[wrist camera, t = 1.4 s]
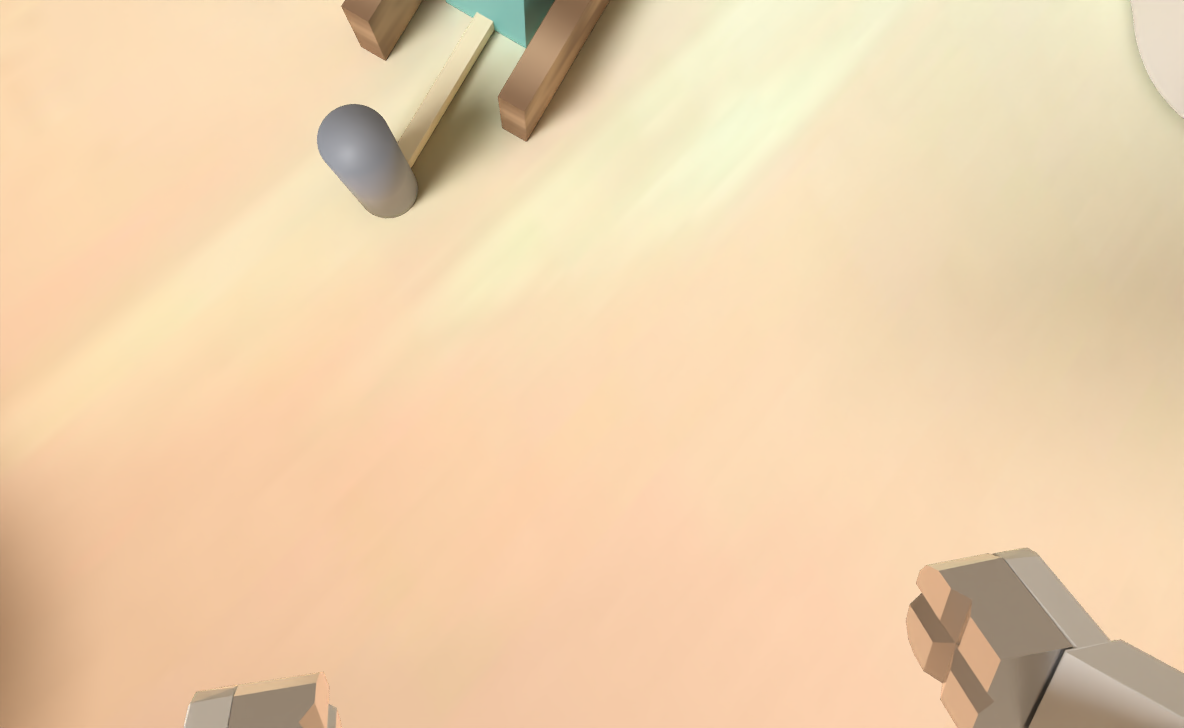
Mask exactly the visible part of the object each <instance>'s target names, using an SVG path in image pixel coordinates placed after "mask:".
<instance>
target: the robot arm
mask: <svg viewBox="0 0 1184 728" xmlns="http://www.w3.org/2000/svg"><path fill="white" fill-rule="evenodd" d="M1130 2H1131V7H1132V12H1133V21H1134V30H1135V36H1136V42H1137V46H1138V50H1139V53H1140V56H1141V59H1142V62H1143V64H1144V67H1145V69H1146V71H1147V73H1148V75H1149V77H1150V79H1151V80H1152V82H1153V84H1154V86H1155V87H1156V89H1157V90H1158V91H1159V93H1160V94H1161V96H1162V97H1163V98H1164V99H1165V101H1166V102H1167V103H1168V104H1169V105H1170V106H1171V107H1172V108H1173V109H1174V110H1175V111H1176V112H1177V113H1178V114H1179V115H1180V116H1181V117H1182V118H1184V0H1130ZM916 584H917V586H918V587H919V589H920V590H921V592H922V593H921V594H920V595H919V596H918V597H917V598H916V599H915V600H914V601H913V602H912V603H911V604H910V605H909V610H908V614H907V618H906V625H907V632H908V640H909V642H910V645H911V647H912V650H913V653H914V655H915V657H916V659H917V660H918V662H919V664H920V666H921V667H922V669H923V671H924V672H926V673H928V674H929V675H931V676H932V677H934V678H935V679H937V680H938V681H940V682H942V690H941V698H940V700H941V701H942V703H943V705H944V706H945V708H946V709H947V711H948V713H949V714H950V716H951V718H952V719H953V721H954V723H955V724H956V726H957V728H1184V673H1182V672H1180V671H1179V670H1177V669H1175V668H1173V667H1171V666H1169V665H1167V664H1166V663H1164V662H1162V661H1160V660H1158V659H1156V658H1154V657H1153V656H1151V655H1149V654H1147V653H1145V652H1143V651H1141V650H1140V649H1138V648H1136V647H1134V646H1132V645H1130V644H1128V643H1127V642H1125V641H1123V640H1121V639H1120V640H1114V641H1111V640H1110V639H1109V638H1108V637H1107V636H1106V635H1105V633H1104V632H1103V631H1102V630H1101V629H1100V627H1099V626H1098V625H1097V624H1096V623H1095V621H1094V620H1093V619H1092V618H1091V617H1090V616H1089V614H1088V613H1087V612H1086V611H1085V610H1084V608H1083V607H1082V606H1081V605H1080V604H1079V602H1078V601H1077V600H1076V599H1075V598H1074V597H1073V595H1072V594H1071V593H1070V592H1069V591H1068V589H1067V588H1066V587H1065V586H1064V585H1063V583H1062V582H1061V581H1060V580H1059V579H1058V578H1057V576H1056V575H1055V574H1054V573H1053V572H1052V570H1051V569H1050V568H1049V567H1048V566H1047V565H1046V563H1045V562H1044V561H1043V560H1042V559H1041V557H1040V556H1039V555H1038V554H1037V553H1036V552H1034V551H1032V550H1031V549H1029V548H1019V549H1014V550H1009V551H1004V552H999V553H994V554H989V553H987V554H982V555H977V556H972V557H966V558H961V559H956V560H951V561H945V562H940V563H935V564H930V565H926V566H925V567H924V568H923V569H922V570H920V572H919V575H918V578H917V582H916ZM329 690H330V687H329V684H328V682H327V679H326V677H325V674H324V672H318V673H312V674H305V675H299V676H292V677H286V678H279V679H273V680H266V681H260V682H253V683H247V684H239V685H233V686H227V687H221V688H215V689H210V690H204V691H198V692H196V693H195V695H194V697H193V699H192V700H191V702H190V704H189V706H188V710H187V714H186V719H185V723H184V728H342V725H341V720H340V717H339V714H338V710H337V708H336V707H334V706H332V705H330V704H329Z"/></svg>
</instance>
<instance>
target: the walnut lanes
mask: <svg viewBox="0 0 1184 728" xmlns="http://www.w3.org/2000/svg"><path fill="white" fill-rule="evenodd" d="M609 1H610V0H555V1H554V3H553V5H552V6H551V8H550V10H549V11H548V13H547V15H546V16H545V18H544V20H543V21H542V23H541V25H540V26H539V28H538V30H537V32H536V33H535V35H534V37H533V38H532V40H531V42H530V43H529V45H528V47H527V48H526V50H525V52H524V53H523V55H522V57H521V58H520V60H519V62H518V63H517V65H516V67H515V68H514V70H513V72H512V73H511V75H510V77H509V78H508V80H507V82H506V83H505V85H504V87H503V89H502V90H501V92H500V94H499V95H498V101H499V108H500V115H501V122H502V128H503V129H505V130H507V131H509V132H510V133H512V134H514V135H516V136H517V137H519V138H521V139H523V140H524V141H527V140H528V138H529V136H530V135H531V133H532V131H533V130H534V128H535V126H536V125H537V123H538V121H539V119H540V118H541V116H542V114H543V113H544V111H545V109H546V108H547V106H548V104H549V103H550V101H551V99H552V97H553V96H554V94H555V92H556V91H557V89H558V87H559V86H560V84H561V82H562V80H563V79H564V77H565V75H566V74H567V72H568V70H569V69H570V67H571V65H572V64H573V62H574V60H575V58H576V57H577V55H578V53H579V52H580V50H581V48H582V47H583V45H584V43H585V42H586V40H587V38H588V36H589V35H590V33H591V31H592V30H593V28H594V26H595V25H596V23H597V21H598V19H599V18H600V16H601V14H602V13H603V11H604V9H605V8H606V6H607V4H608V3H609ZM421 2H422V0H345V1H344V3H343V4H342V6H341V7H342V9H343V11H344V13H345V15H346V17H347V19H348V21H349V23H350V25H351V27H352V29H353V31H354V33H355V35H356V37H357V39H358V41H359V43H360V45H361V47H363V48H364V49H366V50H368V51H370V52H371V53H373V54H375V55H377V56H378V57H380V58H382V59H383V60H385V61H386V59H387V58H388V56H389V54H390V53H391V51H392V49H393V48H394V46H395V45H396V43H397V41H398V40H399V38H400V36H401V35H402V33H403V31H404V30H405V28H406V27H407V25H408V23H409V22H410V20H411V18H412V17H413V15H414V13H415V12H416V10H417V9H418V7H419V5H420V4H421Z"/></svg>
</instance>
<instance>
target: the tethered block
mask: <svg viewBox="0 0 1184 728" xmlns="http://www.w3.org/2000/svg"><path fill="white" fill-rule="evenodd" d="M554 1H555V0H446V2H447V3H448V4H450V5H452V6H454V7H455V8H457V9H459V10H460V11H462V12H464V13H466V14H467V15H469V16H471V17H473V19H472V21H471V22H470V24H469V26H468V27H467V29H466V31H465V32H464V34H463V36H462V37H461V39H460V41H459V42H458V44H457V45H456V47H455V49H454V50H453V52H452V54H451V55H450V57H449V59H448V60H447V62H446V64H445V65H444V67H443V69H442V70H441V72H440V74H439V75H438V77H437V79H436V80H435V82H434V83H433V85H432V87H431V88H430V90H429V92H428V93H427V95H426V97H425V98H424V100H423V102H422V103H421V105H420V107H419V108H418V110H417V112H416V113H415V115H414V117H413V118H412V120H411V122H410V123H409V125H408V126H407V128H406V130H405V131H404V133H403V135H402V136H401V138H400V140H399V141H398V143H397V142H396V140H395V138H394V136H393V134H392V132H391V131H390V129H389V127H388V125H387V123H386V121H385V120H384V119H383V117H382V116H381V115H380V114H379V113H378V112H376V111H375V110H373V109H371V108H369V107H367V106H364V105H359V104H349V105H344V106H341V107H339V108H336V109H335V110H333V111H332V112H330V113H329V114H328V115H327V116H326V117H325V119H324V120H323V121H322V123H321V125H320V128H319V130H318V135H317V144H318V149H319V152H320V154H321V156H322V158H323V160H324V161H325V162H326V163H327V165H328V166H329V167H330V168H331V169H332V170H333V172H334V173H335V174H336V175H337V176H338V177H339V179H340V180H341V181H342V182H343V183H344V184H345V186H346V187H347V188H348V189H349V190H350V191H351V192H352V194H353V195H354V196H355V197H356V198H357V199H358V201H359V202H360V203H361V204H362V205H363V206H364V208H365V209H366V210H367V211H369V212H370V213H371V214H373V215H375V216H378V217H381V218H394V217H398V216H400V215H402V214H404V213H405V212H407V211H408V210H409V209H410V208H411V207H412V205H413V204H414V202H415V200H416V197H417V193H418V184H417V180H416V177H415V175H414V173H413V172H412V170H411V167H412V166H413V164H414V162H415V161H416V159H417V157H418V156H419V154H420V152H421V151H422V149H423V147H424V146H425V144H426V142H427V141H428V139H429V137H430V136H431V134H432V132H433V131H434V129H435V127H436V126H437V124H438V123H439V121H440V119H441V118H442V116H443V114H444V113H445V111H446V109H447V108H448V106H449V104H450V103H451V101H452V99H453V98H454V96H455V94H456V93H457V91H458V89H459V88H460V86H461V84H462V83H463V81H464V79H465V78H466V76H467V74H468V73H469V71H470V69H471V68H472V66H473V64H474V63H475V61H476V59H477V58H478V56H479V54H480V53H481V51H482V49H483V48H484V46H485V44H486V43H487V41H488V39H489V38H490V36H491V34H492V33H493V31H494V30H495V31H497V32H499V33H500V34H502V35H504V36H506V37H507V38H509V39H511V40H512V41H514V42H516V43H518V44H519V45H521V46H523V47H525V48H527V46H528V44H529V43H530V41H531V39H532V38H533V36H534V34H535V33H536V31H537V29H538V28H539V26H540V24H541V22H542V21H543V19H544V17H545V16H546V14H547V12H548V11H549V9H550V7H551V6H552V4H553V2H554Z"/></svg>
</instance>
